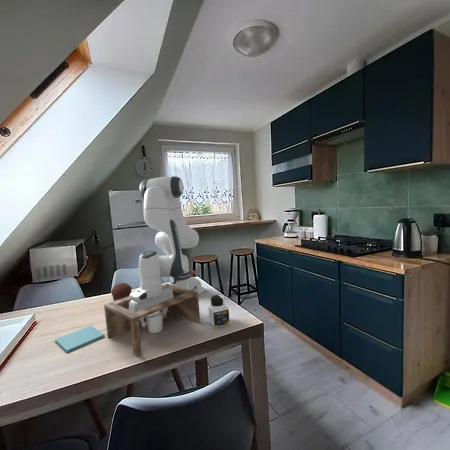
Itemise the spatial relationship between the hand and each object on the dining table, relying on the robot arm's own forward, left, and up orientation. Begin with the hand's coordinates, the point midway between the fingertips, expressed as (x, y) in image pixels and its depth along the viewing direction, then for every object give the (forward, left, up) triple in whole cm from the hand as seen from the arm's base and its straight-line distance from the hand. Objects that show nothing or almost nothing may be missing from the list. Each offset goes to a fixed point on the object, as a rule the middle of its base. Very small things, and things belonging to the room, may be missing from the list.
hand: (154, 321), depth 108 cm
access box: (0, 0, -4) cm, 4 cm away
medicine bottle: (-20, +19, -4) cm, 28 cm away
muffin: (-9, -47, -4) cm, 48 cm away
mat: (+23, -20, -4) cm, 31 cm away
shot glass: (0, 0, -4) cm, 4 cm away
